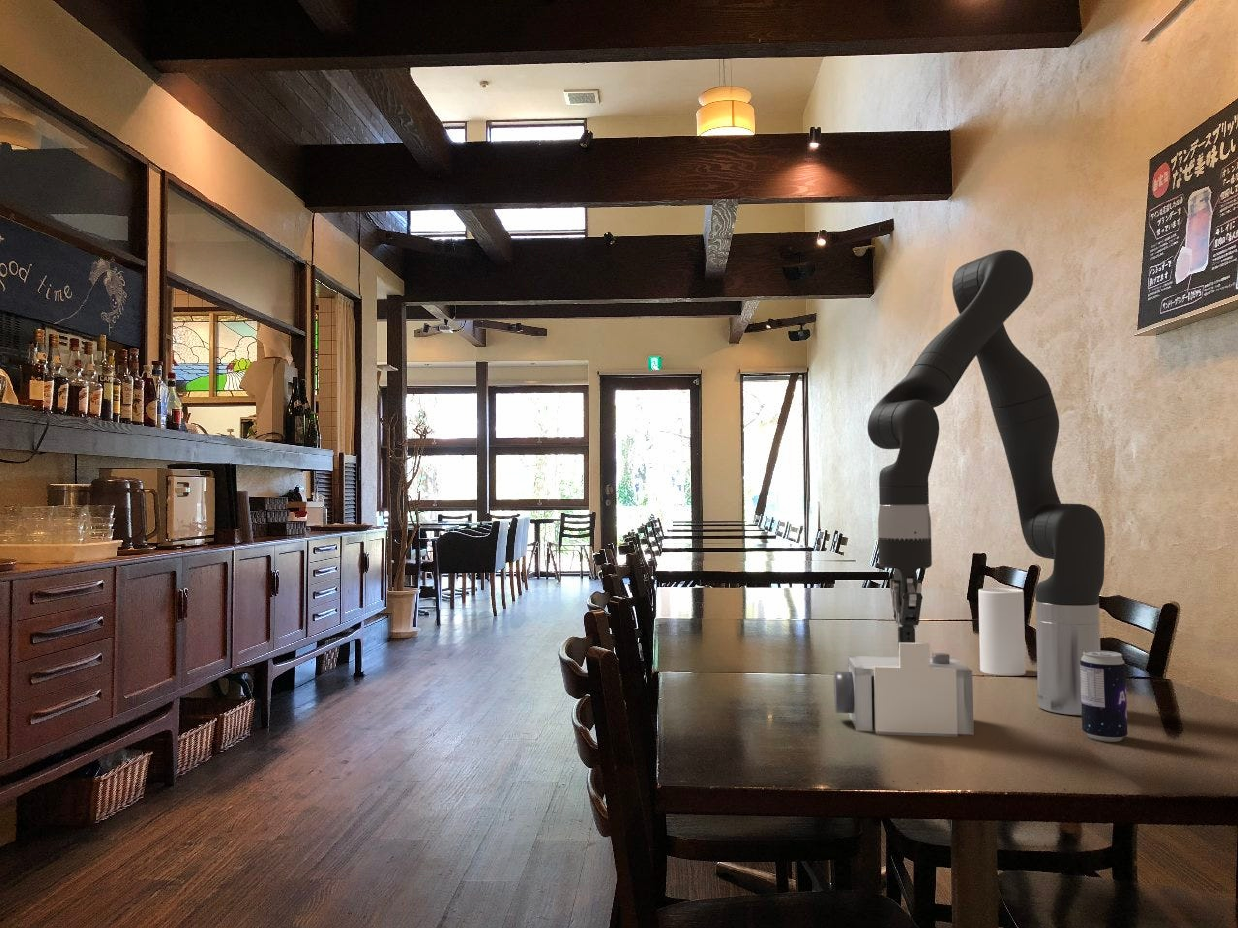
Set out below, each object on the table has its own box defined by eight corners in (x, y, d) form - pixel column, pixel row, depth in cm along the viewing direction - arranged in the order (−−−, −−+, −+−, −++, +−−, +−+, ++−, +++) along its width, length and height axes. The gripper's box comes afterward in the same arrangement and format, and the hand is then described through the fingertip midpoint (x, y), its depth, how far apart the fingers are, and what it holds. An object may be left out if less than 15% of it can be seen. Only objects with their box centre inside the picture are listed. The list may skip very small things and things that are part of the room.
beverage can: (1126, 745, 121) (1124, 658, 122) (1080, 739, 124) (1078, 654, 125) (1128, 735, 126) (1125, 651, 126) (1084, 730, 129) (1081, 648, 129)
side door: (955, 738, 123) (953, 643, 124) (957, 740, 122) (955, 644, 122) (874, 735, 125) (873, 641, 125) (876, 738, 123) (874, 643, 124)
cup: (1028, 670, 174) (1026, 589, 175) (1022, 677, 167) (1020, 593, 168) (984, 666, 178) (982, 587, 179) (976, 673, 171) (974, 590, 172)
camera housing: (957, 724, 133) (955, 650, 133) (973, 742, 123) (972, 662, 123) (833, 720, 136) (831, 647, 136) (839, 738, 126) (838, 659, 126)
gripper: (940, 537, 123) (942, 661, 122) (922, 533, 136) (924, 645, 135) (884, 537, 124) (887, 660, 124) (872, 533, 137) (874, 644, 137)
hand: (906, 652), depth 130 cm, fingers closed
